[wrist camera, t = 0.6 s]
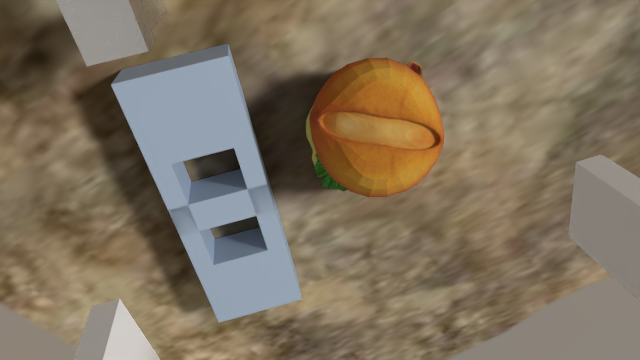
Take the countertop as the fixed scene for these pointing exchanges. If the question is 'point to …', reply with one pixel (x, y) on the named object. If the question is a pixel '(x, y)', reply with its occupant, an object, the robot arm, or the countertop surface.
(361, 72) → the cheeseburger
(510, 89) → the countertop surface
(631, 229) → the robot arm
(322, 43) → the countertop surface
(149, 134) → the rail
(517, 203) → the countertop surface
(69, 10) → the clip
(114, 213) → the countertop surface
